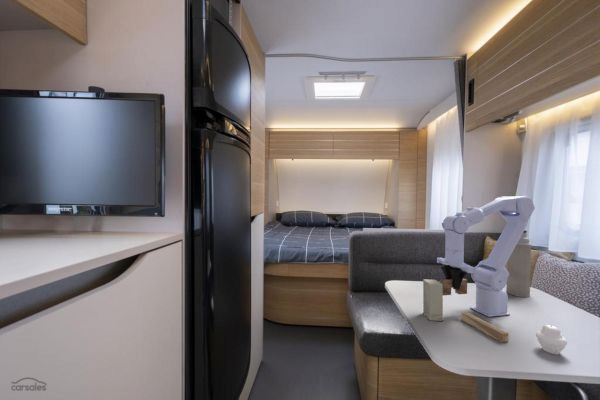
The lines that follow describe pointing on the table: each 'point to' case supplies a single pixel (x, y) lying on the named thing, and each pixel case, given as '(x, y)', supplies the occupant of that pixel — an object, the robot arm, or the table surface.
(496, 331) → the oak rail
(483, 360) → the table surface
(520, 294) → the thermos bottle
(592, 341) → the table surface
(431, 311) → the skincare box
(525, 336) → the table surface
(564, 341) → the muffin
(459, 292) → the tall wooden block
